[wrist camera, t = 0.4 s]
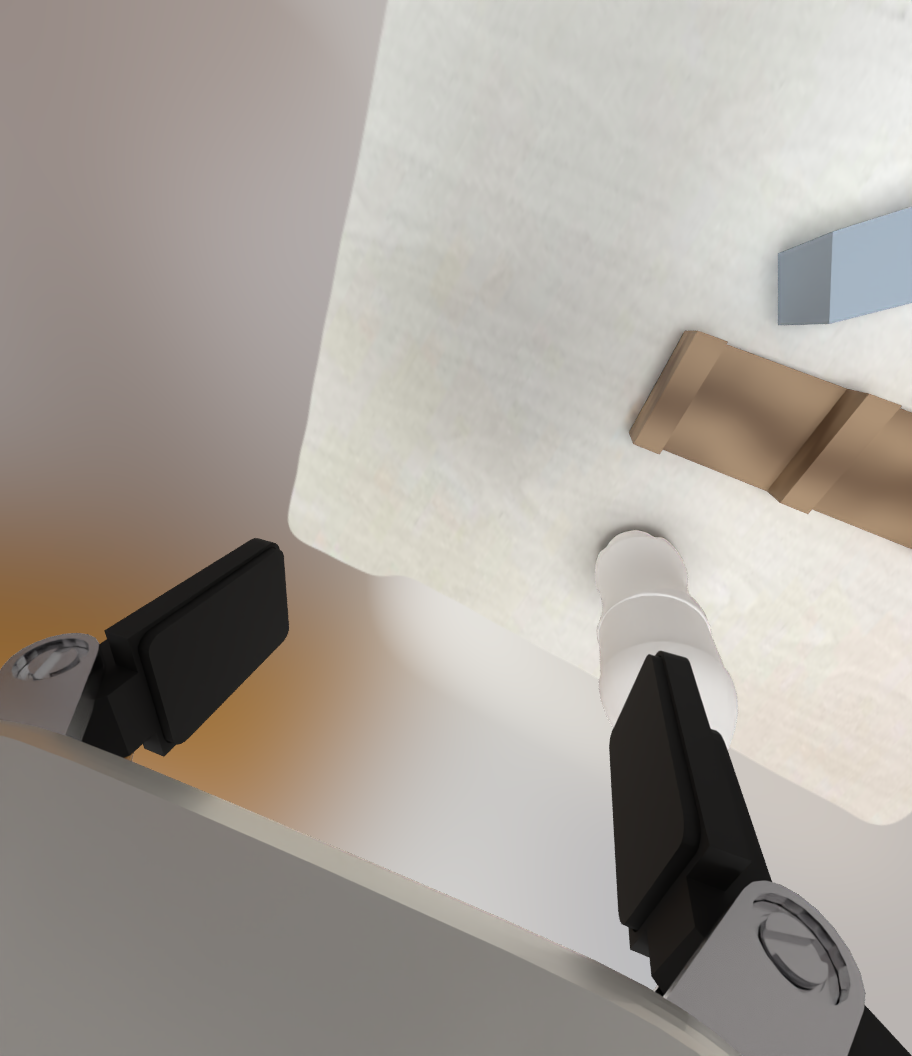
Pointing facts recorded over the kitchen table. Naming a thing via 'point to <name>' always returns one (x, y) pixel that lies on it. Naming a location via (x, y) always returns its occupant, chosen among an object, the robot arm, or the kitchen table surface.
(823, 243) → the blue-grey rectangular block
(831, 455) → the wooden divided rack
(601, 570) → the water bottle
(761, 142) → the kitchen table surface
